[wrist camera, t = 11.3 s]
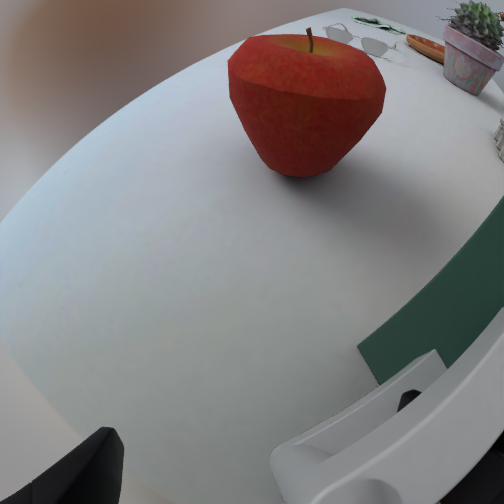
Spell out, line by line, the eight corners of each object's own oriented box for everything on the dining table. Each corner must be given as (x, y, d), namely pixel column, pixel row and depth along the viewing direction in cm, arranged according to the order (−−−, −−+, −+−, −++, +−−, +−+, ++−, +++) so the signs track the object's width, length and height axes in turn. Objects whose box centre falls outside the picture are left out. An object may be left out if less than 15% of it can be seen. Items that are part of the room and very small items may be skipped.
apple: (320, 238, 19) (368, 69, 9) (204, 174, 23) (185, 31, 13) (374, 162, 24) (410, 45, 14) (278, 119, 28) (285, 10, 18)
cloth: (411, 35, 73) (412, 30, 71) (386, 33, 65) (387, 27, 63) (368, 19, 81) (369, 14, 79) (338, 16, 74) (339, 11, 72)
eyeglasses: (320, 40, 48) (322, 24, 45) (343, 31, 57) (345, 19, 53) (389, 61, 44) (392, 45, 41) (398, 49, 52) (401, 37, 49)
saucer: (391, 40, 58) (393, 30, 55) (424, 44, 65) (426, 36, 62) (458, 76, 48) (462, 65, 45) (479, 77, 55) (482, 68, 52)
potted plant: (413, 57, 50) (430, -23, 29) (474, 83, 48) (496, 11, 27) (434, 82, 41) (460, -19, 20) (502, 115, 38) (534, 29, 17)
